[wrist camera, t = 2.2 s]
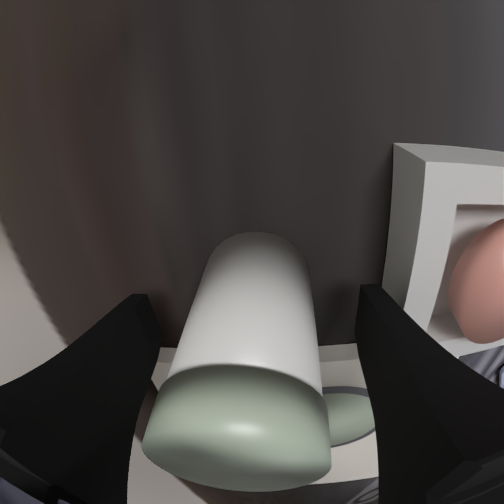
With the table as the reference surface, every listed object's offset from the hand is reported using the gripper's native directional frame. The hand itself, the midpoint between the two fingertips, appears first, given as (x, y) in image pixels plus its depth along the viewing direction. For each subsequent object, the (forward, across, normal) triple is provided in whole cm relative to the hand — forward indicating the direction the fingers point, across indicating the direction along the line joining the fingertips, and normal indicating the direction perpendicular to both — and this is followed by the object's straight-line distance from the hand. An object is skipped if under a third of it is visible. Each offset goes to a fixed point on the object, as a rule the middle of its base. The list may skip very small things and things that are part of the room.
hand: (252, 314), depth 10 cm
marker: (+2, 0, 0) cm, 2 cm away
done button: (0, -9, -1) cm, 9 cm away
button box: (+2, -9, -1) cm, 9 cm away
